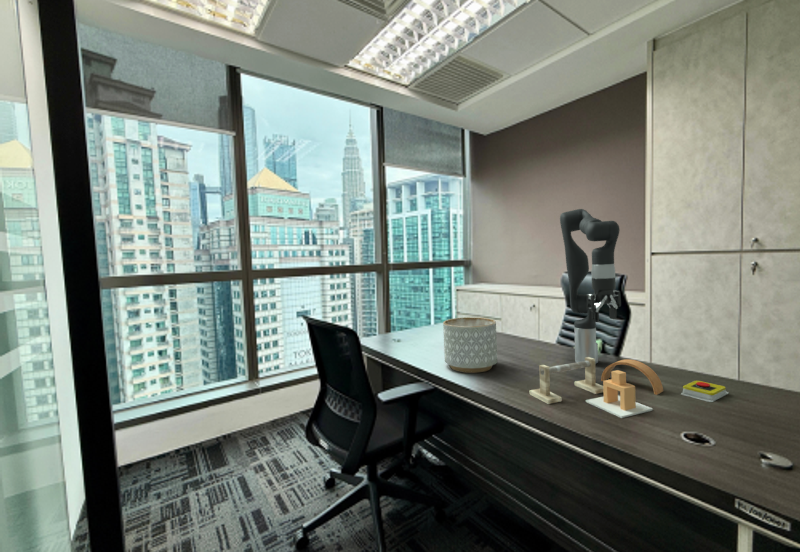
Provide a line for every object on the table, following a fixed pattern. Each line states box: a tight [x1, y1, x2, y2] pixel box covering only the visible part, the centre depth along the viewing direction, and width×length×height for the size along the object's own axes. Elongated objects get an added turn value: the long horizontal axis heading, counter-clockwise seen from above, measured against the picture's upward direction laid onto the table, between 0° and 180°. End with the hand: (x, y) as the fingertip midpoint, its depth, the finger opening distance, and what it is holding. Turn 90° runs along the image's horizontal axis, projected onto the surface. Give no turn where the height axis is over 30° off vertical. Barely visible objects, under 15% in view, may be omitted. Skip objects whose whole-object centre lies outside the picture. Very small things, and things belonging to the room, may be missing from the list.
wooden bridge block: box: [602, 369, 637, 411], centre depth 120 cm, size 5×8×12 cm, turn 19°
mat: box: [585, 394, 654, 419], centre depth 121 cm, size 14×14×1 cm
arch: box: [600, 358, 664, 396], centre depth 138 cm, size 6×20×10 cm, turn 33°
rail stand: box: [529, 357, 603, 405], centre depth 134 cm, size 28×10×12 cm, turn 109°
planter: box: [442, 316, 498, 374], centre depth 172 cm, size 26×26×22 cm
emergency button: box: [680, 380, 729, 403], centre depth 128 cm, size 9×4×15 cm
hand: (604, 320), depth 128 cm, fingers open, 8 cm apart
